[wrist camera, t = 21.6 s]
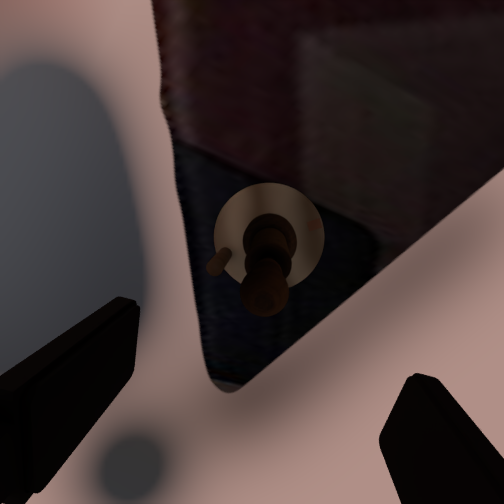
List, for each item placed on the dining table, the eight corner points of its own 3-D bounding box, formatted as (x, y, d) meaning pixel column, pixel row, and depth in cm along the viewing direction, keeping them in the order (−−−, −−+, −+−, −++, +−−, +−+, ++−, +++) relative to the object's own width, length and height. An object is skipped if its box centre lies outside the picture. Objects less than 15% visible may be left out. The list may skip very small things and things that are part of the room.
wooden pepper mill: (306, 242, 31) (347, 309, 13) (268, 273, 32) (259, 371, 15) (272, 202, 30) (267, 219, 13) (233, 236, 32) (182, 293, 14)
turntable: (304, 166, 30) (313, 159, 23) (334, 270, 33) (351, 292, 26) (201, 204, 32) (179, 209, 25) (237, 298, 35) (227, 326, 28)
